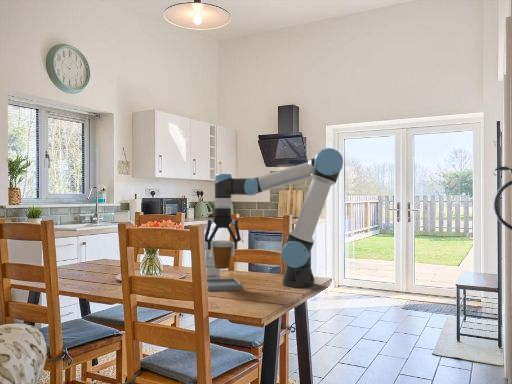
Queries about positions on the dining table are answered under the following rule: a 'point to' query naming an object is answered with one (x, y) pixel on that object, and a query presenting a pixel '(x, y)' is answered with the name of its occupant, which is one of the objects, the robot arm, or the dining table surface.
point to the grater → (211, 264)
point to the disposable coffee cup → (222, 253)
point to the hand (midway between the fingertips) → (222, 256)
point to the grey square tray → (223, 284)
